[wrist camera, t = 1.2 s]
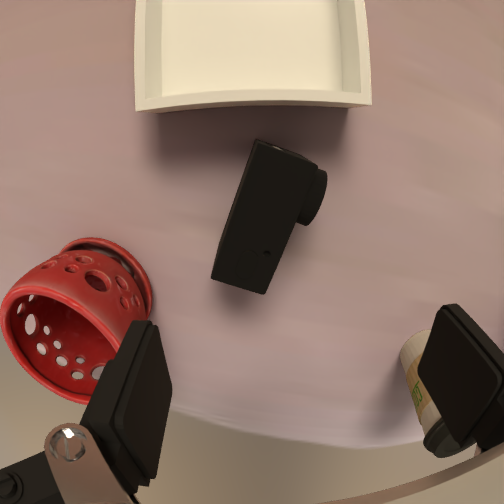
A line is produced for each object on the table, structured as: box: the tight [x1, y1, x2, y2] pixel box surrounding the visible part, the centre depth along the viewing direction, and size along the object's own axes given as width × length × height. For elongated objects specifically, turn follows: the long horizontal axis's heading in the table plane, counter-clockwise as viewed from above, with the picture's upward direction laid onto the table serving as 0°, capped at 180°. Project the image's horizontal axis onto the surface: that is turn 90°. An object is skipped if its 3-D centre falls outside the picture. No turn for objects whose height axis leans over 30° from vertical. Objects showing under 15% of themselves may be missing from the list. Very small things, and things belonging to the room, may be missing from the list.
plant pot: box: [0, 238, 152, 405], centre depth 25 cm, size 13×13×12 cm
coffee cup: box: [400, 330, 476, 458], centre depth 28 cm, size 10×10×15 cm
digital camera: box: [211, 139, 327, 294], centre depth 24 cm, size 10×5×7 cm, turn 160°
